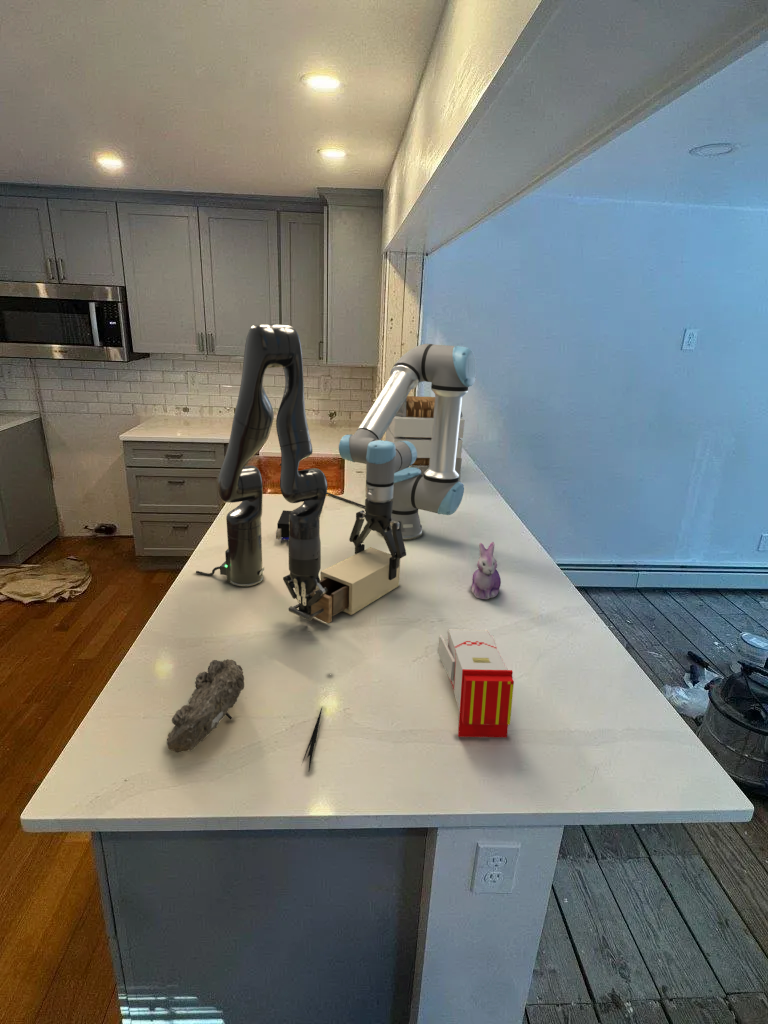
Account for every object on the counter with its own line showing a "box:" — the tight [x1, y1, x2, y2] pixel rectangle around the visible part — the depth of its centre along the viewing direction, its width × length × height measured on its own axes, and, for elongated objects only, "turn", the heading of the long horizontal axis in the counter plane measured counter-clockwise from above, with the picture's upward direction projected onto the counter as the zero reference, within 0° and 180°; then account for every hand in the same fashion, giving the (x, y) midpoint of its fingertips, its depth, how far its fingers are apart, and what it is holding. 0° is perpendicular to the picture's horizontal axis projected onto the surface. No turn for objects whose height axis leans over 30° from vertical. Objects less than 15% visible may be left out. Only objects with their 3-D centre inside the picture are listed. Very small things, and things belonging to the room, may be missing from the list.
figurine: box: [470, 541, 502, 600], centre depth 158 cm, size 9×10×15 cm
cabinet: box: [320, 547, 401, 616], centre depth 156 cm, size 21×11×9 cm, turn 144°
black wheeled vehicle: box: [275, 509, 293, 544], centre depth 191 cm, size 7×8×15 cm
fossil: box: [166, 658, 245, 754], centre depth 106 cm, size 22×10×15 cm
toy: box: [437, 628, 515, 738], centre depth 117 cm, size 12×13×30 cm
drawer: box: [288, 577, 349, 624], centre depth 147 cm, size 26×10×7 cm, turn 144°
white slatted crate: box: [384, 395, 465, 482], centre depth 268 cm, size 34×33×41 cm
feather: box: [301, 673, 332, 771], centre depth 108 cm, size 2×28×2 cm
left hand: (305, 616), depth 139 cm, fingers closed
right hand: (375, 572), depth 161 cm, fingers closed on cabinet, 11 cm apart
